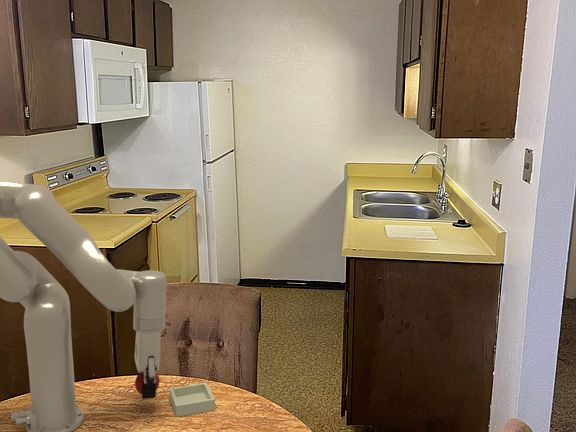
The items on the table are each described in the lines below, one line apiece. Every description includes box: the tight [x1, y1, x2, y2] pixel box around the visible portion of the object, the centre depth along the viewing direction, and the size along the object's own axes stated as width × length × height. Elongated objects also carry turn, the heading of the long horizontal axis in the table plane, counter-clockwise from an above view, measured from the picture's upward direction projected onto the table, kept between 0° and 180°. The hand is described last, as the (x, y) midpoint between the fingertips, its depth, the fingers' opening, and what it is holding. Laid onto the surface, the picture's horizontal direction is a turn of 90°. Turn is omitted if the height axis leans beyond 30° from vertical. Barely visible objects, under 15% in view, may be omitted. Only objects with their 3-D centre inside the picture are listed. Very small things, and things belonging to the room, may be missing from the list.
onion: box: [134, 368, 160, 395], centre depth 139 cm, size 6×6×8 cm
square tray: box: [169, 382, 216, 418], centre depth 142 cm, size 10×10×3 cm
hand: (147, 390), depth 140 cm, fingers closed on onion, 5 cm apart
